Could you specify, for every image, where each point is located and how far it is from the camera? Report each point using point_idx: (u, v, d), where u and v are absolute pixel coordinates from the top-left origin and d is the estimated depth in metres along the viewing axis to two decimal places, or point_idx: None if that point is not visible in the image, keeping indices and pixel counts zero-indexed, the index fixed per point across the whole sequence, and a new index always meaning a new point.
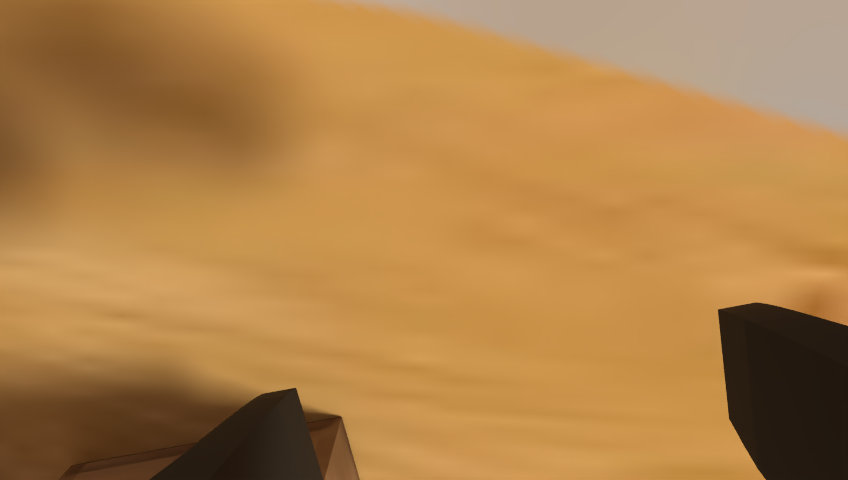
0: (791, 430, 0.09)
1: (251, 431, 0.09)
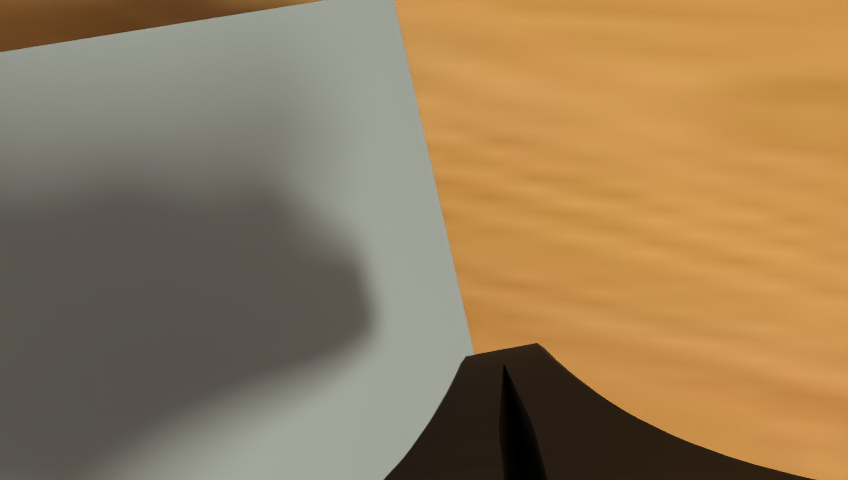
0: (532, 474, 0.09)
1: (500, 386, 0.09)
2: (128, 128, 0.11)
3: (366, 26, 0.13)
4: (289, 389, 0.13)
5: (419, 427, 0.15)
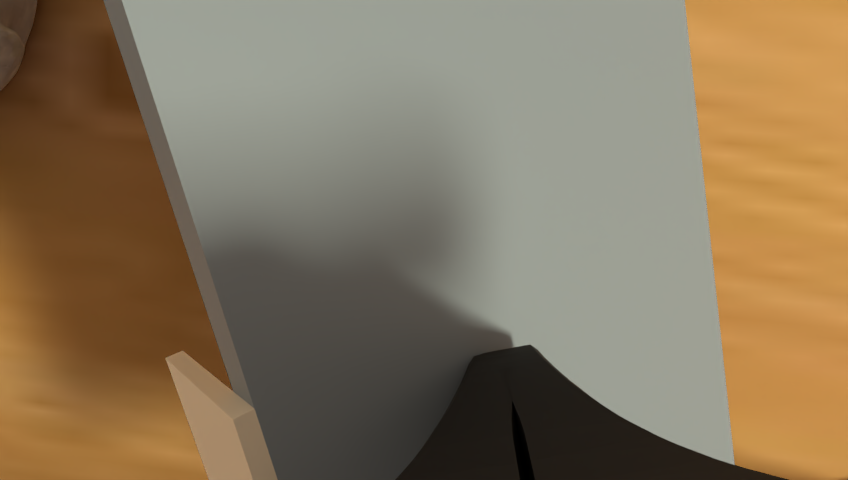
0: None
1: (511, 384, 0.09)
2: (455, 50, 0.10)
3: None
4: (570, 349, 0.12)
5: (671, 398, 0.14)
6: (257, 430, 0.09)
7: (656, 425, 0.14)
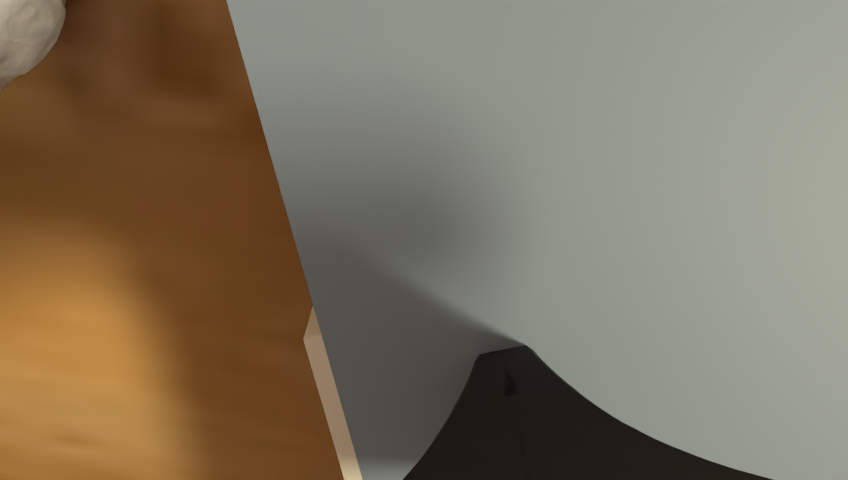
0: None
1: (518, 383, 0.09)
2: (554, 28, 0.09)
3: None
4: (683, 354, 0.11)
5: (845, 442, 0.12)
6: (323, 352, 0.11)
7: (812, 466, 0.12)
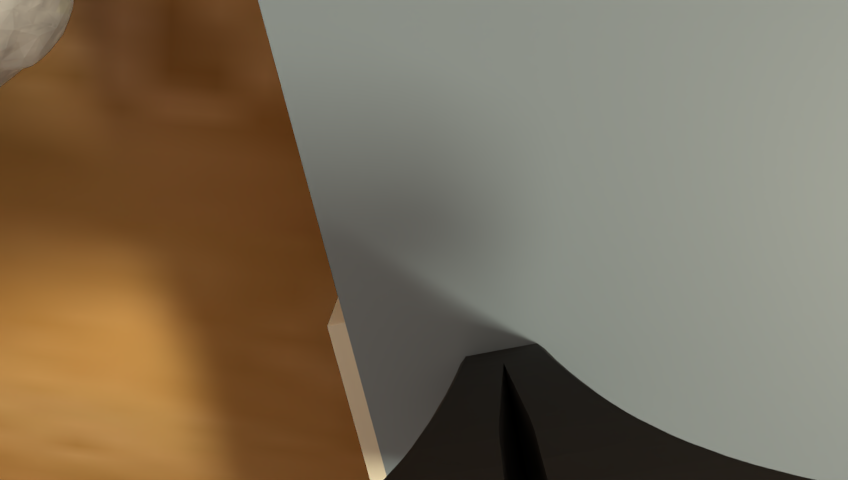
0: (532, 474, 0.09)
1: (500, 386, 0.09)
2: (581, 19, 0.09)
3: None
4: (710, 353, 0.11)
5: None
6: (346, 339, 0.11)
7: (845, 471, 0.11)
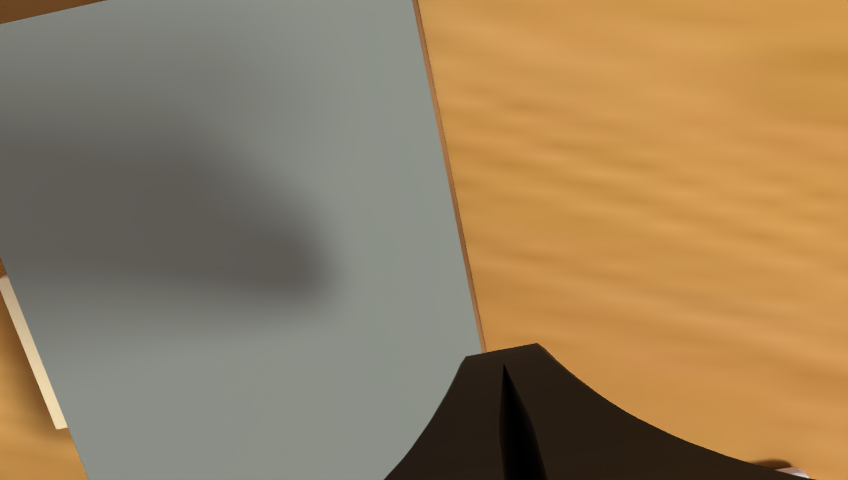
0: (532, 475, 0.09)
1: (500, 386, 0.09)
2: (138, 71, 0.14)
3: None
4: (267, 302, 0.15)
5: (400, 373, 0.16)
6: (10, 289, 0.15)
7: (378, 390, 0.16)
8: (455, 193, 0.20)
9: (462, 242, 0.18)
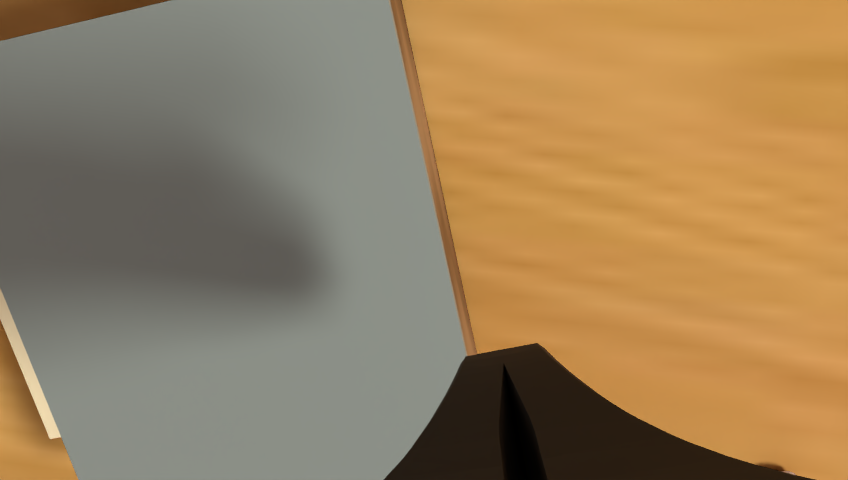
0: (532, 474, 0.09)
1: (501, 386, 0.09)
2: (126, 87, 0.14)
3: None
4: (255, 312, 0.16)
5: (387, 381, 0.16)
6: (3, 302, 0.16)
7: (366, 397, 0.16)
8: (444, 202, 0.21)
9: (449, 250, 0.18)
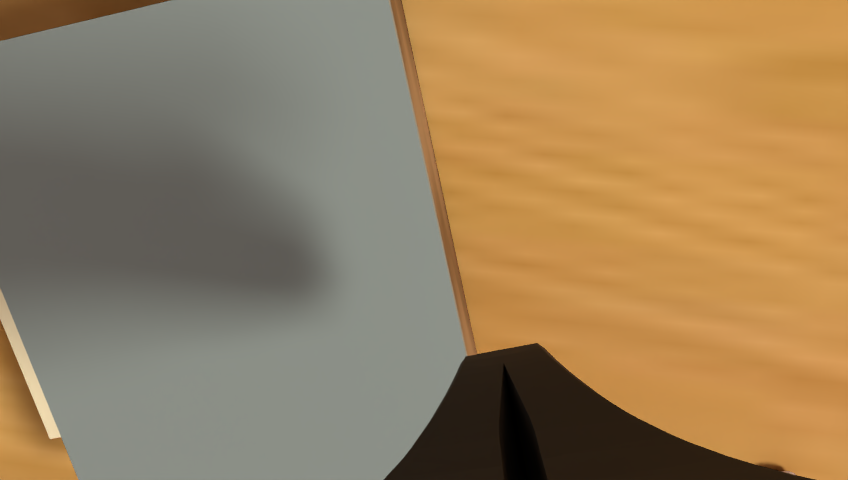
0: (532, 474, 0.09)
1: (501, 386, 0.09)
2: (126, 87, 0.14)
3: None
4: (255, 312, 0.16)
5: (387, 381, 0.16)
6: (3, 302, 0.16)
7: (366, 397, 0.16)
8: (444, 202, 0.21)
9: (449, 250, 0.18)
